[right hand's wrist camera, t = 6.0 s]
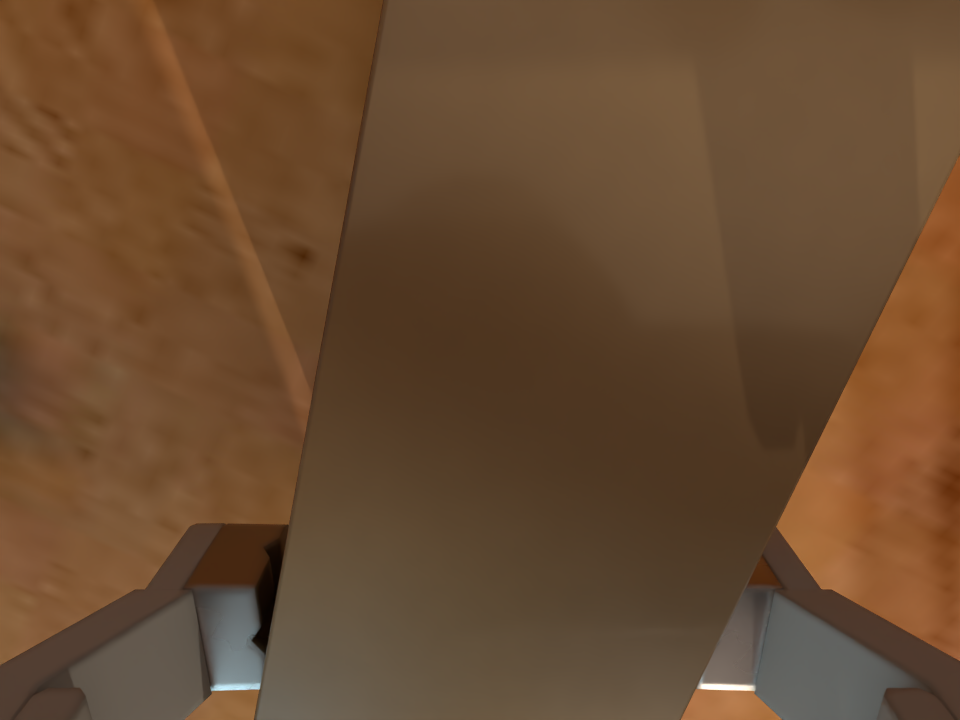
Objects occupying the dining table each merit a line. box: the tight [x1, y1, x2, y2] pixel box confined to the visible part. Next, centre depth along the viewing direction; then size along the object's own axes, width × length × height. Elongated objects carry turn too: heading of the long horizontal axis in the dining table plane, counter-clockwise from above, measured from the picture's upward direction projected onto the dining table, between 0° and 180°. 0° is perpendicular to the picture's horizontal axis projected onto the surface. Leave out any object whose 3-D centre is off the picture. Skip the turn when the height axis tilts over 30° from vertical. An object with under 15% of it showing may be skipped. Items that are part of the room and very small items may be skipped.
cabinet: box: [254, 0, 960, 720], centre depth 11 cm, size 18×6×10 cm, turn 166°
